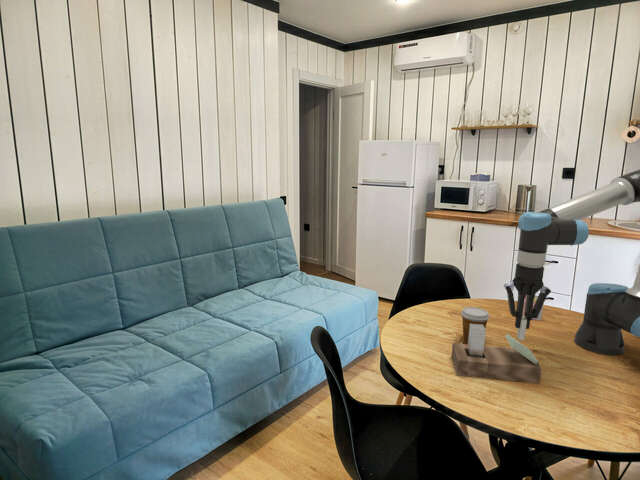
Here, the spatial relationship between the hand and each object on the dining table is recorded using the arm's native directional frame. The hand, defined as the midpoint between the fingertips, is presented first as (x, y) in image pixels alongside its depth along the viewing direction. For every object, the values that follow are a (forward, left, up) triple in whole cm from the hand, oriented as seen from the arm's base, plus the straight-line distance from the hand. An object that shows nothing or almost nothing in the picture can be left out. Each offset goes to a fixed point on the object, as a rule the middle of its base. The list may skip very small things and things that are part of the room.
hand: (520, 337), depth 128 cm
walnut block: (+7, 0, -12) cm, 14 cm away
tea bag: (-19, -48, -12) cm, 53 cm away
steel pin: (+13, 0, -12) cm, 17 cm away
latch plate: (-1, 0, -4) cm, 4 cm away
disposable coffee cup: (+10, -19, -12) cm, 24 cm away
